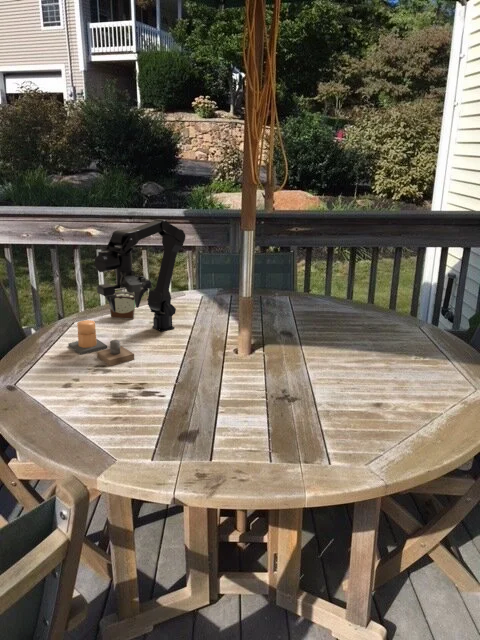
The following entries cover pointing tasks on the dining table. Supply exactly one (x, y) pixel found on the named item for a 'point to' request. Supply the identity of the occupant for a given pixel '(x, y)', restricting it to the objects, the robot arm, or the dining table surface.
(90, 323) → the orange rounded bulb shape
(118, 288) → the robot arm
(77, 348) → the mat
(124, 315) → the food container
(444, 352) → the dining table surface
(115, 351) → the post stand
